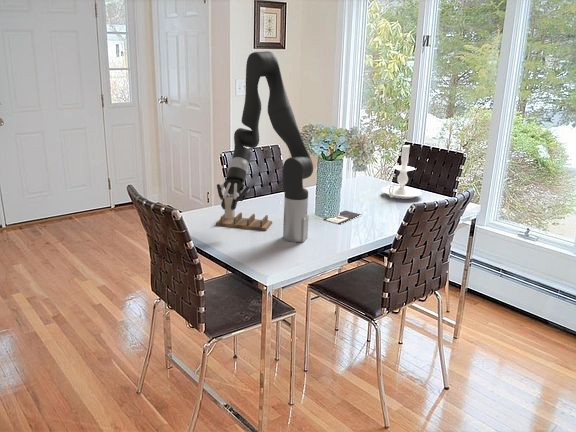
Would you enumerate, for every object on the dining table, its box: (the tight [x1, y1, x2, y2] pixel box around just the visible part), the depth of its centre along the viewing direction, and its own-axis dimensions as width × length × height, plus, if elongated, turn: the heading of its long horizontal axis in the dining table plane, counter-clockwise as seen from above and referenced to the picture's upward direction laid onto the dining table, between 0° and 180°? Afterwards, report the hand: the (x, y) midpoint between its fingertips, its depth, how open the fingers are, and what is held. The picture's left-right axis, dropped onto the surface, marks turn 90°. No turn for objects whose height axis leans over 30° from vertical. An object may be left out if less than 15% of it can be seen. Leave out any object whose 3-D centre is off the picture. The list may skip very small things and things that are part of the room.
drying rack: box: [215, 212, 273, 232], centre depth 224 cm, size 22×10×4 cm, turn 77°
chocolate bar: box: [323, 210, 362, 225], centre depth 239 cm, size 9×1×18 cm
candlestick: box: [381, 144, 422, 200], centre depth 272 cm, size 21×25×28 cm
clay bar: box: [224, 195, 236, 219], centre depth 204 cm, size 3×3×8 cm
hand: (227, 208), depth 203 cm, fingers closed on clay bar, 3 cm apart
